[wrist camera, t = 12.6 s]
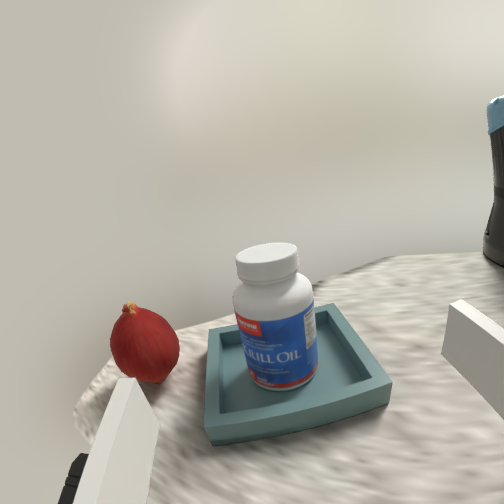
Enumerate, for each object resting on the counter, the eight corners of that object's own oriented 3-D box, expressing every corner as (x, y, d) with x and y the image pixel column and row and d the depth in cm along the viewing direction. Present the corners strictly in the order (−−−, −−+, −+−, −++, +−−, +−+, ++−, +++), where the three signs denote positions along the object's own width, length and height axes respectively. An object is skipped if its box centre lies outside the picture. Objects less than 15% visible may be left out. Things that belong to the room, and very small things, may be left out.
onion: (124, 374, 24) (92, 301, 22) (177, 353, 27) (152, 280, 25) (138, 411, 20) (96, 328, 17) (200, 384, 22) (171, 300, 20)
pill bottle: (239, 389, 20) (206, 269, 17) (262, 348, 25) (240, 241, 22) (312, 396, 18) (297, 265, 15) (324, 350, 23) (313, 236, 20)
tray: (334, 321, 28) (333, 302, 27) (388, 402, 16) (392, 381, 16) (214, 347, 27) (209, 329, 27) (212, 445, 16) (203, 427, 15)
